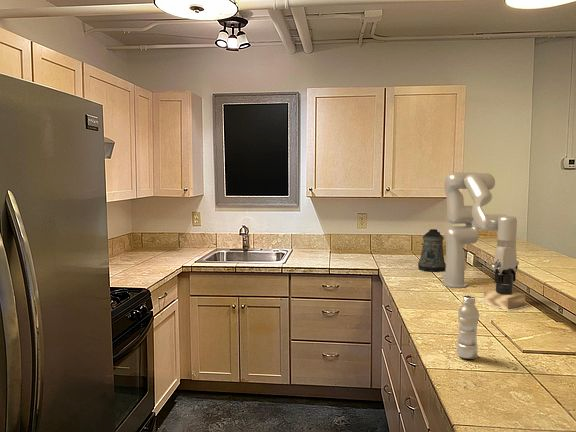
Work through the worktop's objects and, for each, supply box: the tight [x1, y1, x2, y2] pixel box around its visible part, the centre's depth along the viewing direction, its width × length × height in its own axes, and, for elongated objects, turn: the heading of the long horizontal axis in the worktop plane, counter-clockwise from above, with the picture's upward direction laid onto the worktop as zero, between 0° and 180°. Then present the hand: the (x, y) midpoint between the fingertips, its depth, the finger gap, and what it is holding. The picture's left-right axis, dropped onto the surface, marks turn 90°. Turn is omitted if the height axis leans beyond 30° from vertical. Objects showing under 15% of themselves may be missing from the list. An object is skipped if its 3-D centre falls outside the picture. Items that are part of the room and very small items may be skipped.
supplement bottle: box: [495, 267, 514, 295], centre depth 204 cm, size 7×7×12 cm
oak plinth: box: [483, 289, 526, 310], centre depth 204 cm, size 12×12×5 cm
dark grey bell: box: [417, 228, 446, 273], centre depth 284 cm, size 16×19×25 cm
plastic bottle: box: [456, 295, 480, 360], centre depth 147 cm, size 6×7×20 cm
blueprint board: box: [479, 300, 531, 312], centre depth 204 cm, size 16×14×1 cm
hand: (504, 281), depth 203 cm, fingers open, 9 cm apart
